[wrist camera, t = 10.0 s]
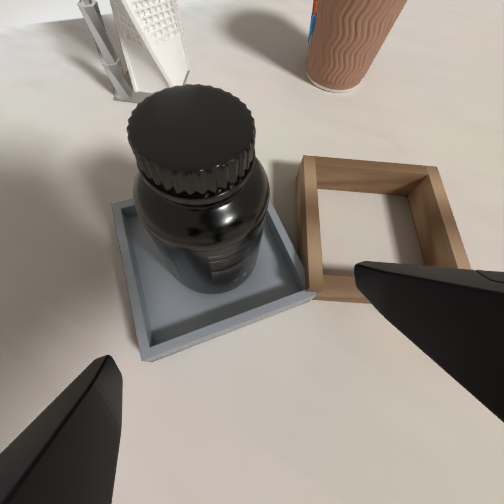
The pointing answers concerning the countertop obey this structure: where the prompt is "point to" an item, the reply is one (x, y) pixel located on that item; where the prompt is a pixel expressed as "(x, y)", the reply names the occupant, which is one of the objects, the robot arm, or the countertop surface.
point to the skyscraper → (141, 46)
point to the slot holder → (382, 182)
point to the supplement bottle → (200, 184)
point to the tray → (198, 304)
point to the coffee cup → (347, 40)
